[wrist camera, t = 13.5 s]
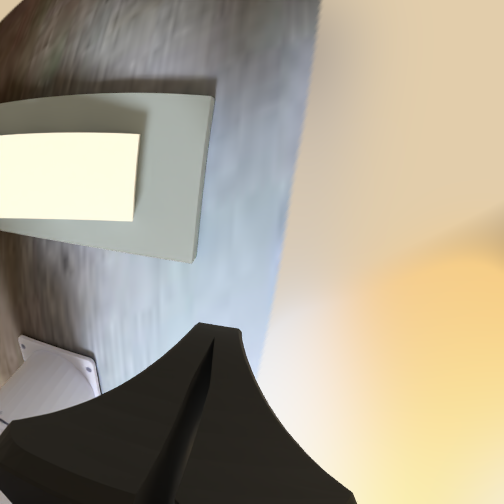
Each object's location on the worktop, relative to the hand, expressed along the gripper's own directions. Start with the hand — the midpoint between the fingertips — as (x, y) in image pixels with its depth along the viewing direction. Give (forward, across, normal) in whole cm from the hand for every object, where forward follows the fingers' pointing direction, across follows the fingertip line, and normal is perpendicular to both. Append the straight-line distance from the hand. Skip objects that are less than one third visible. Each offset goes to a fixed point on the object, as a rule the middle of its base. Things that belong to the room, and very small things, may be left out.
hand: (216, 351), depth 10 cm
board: (+9, +14, -4) cm, 17 cm away
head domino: (+8, +6, -4) cm, 10 cm away
